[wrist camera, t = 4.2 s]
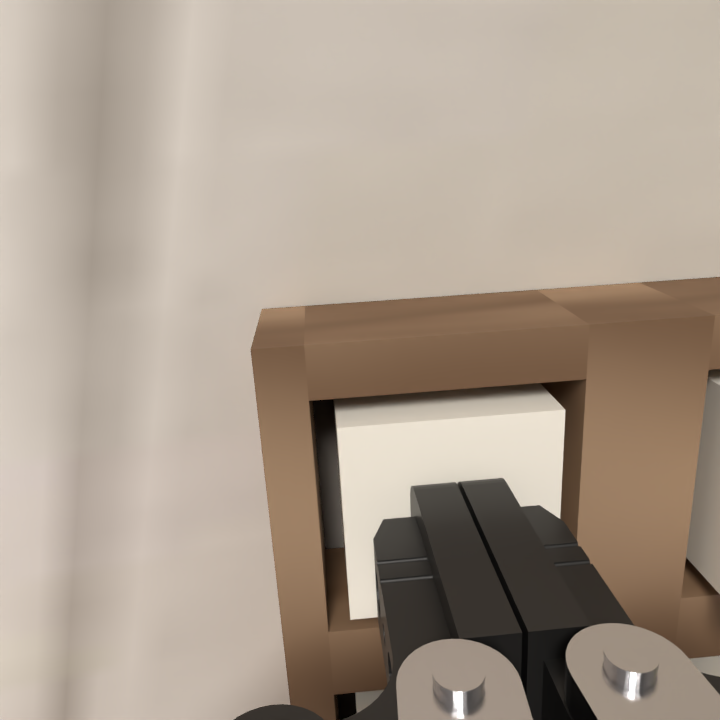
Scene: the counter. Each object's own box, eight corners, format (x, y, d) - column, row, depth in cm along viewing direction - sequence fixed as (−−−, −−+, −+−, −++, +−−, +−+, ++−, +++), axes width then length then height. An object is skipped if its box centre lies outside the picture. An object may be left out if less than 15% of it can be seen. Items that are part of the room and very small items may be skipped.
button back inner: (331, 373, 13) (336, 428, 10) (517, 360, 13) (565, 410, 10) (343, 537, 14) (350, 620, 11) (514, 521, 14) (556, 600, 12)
